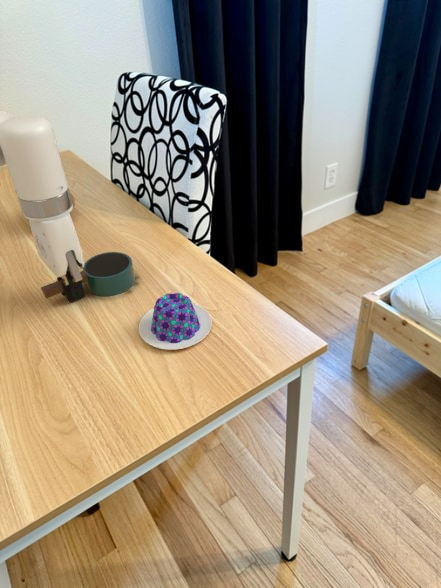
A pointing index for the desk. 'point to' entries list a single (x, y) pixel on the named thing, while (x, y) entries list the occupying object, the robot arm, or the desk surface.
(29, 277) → the desk surface
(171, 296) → the pudding
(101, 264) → the pan
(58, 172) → the robot arm
